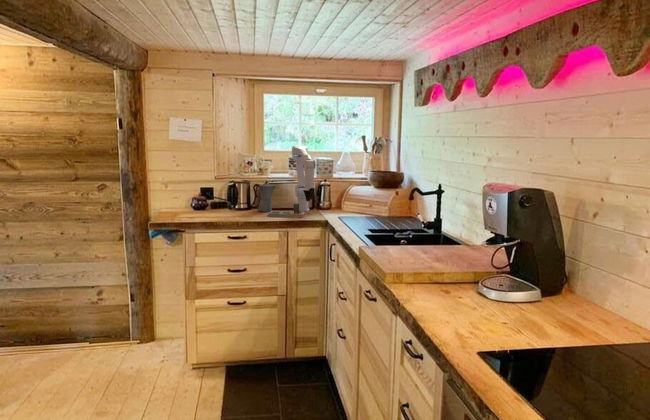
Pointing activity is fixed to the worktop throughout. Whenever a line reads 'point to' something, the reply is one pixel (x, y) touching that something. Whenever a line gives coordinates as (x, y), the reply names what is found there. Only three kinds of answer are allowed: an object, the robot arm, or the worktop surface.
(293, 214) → the grey rectangular frame
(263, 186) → the moka pot
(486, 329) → the worktop surface
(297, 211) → the block
